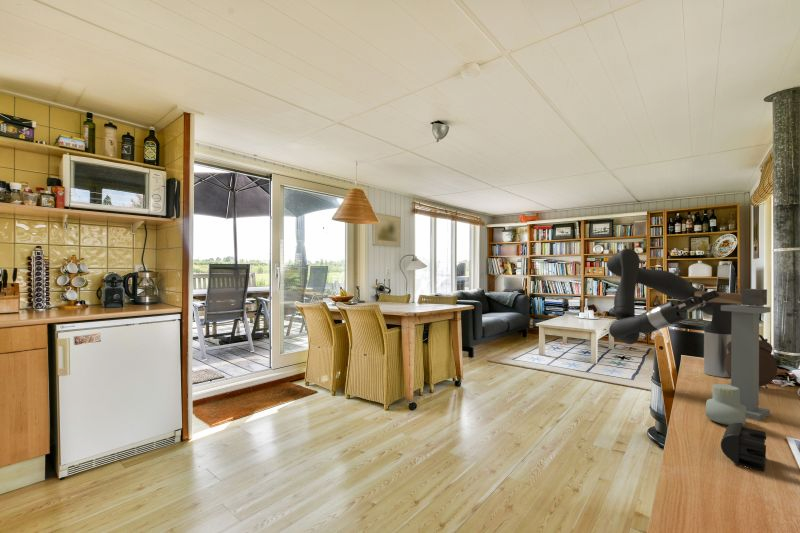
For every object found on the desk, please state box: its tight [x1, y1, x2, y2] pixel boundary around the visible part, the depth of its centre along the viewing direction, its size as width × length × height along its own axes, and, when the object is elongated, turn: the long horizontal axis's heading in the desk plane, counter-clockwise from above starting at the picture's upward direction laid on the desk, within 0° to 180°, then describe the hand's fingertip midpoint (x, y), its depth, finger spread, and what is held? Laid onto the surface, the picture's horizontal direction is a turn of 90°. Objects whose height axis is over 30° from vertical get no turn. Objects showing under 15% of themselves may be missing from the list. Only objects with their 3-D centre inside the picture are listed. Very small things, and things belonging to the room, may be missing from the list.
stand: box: [721, 304, 772, 422], centre depth 116 cm, size 9×9×32 cm
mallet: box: [695, 288, 768, 306], centre depth 119 cm, size 6×16×4 cm, turn 32°
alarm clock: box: [725, 333, 778, 389], centre depth 142 cm, size 14×7×20 cm, turn 84°
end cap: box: [720, 423, 767, 473], centre depth 87 cm, size 10×7×7 cm
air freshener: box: [705, 383, 747, 426], centre depth 108 cm, size 11×8×10 cm
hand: (719, 292), depth 121 cm, fingers closed on mallet, 3 cm apart
